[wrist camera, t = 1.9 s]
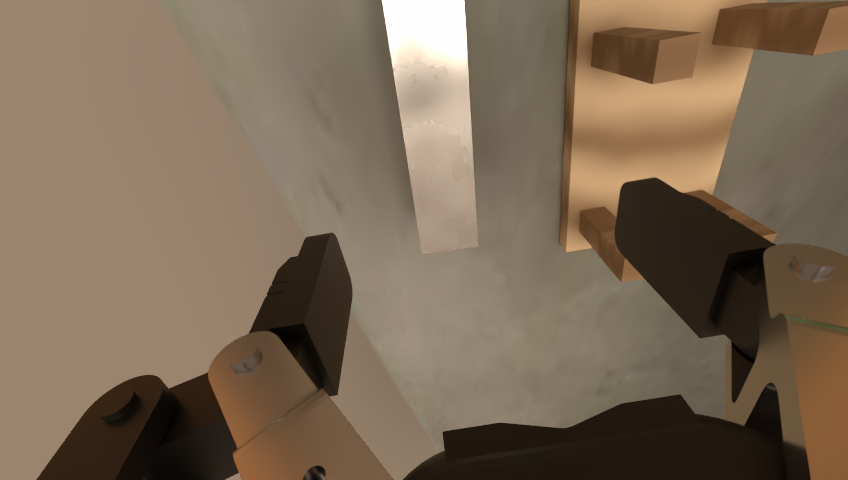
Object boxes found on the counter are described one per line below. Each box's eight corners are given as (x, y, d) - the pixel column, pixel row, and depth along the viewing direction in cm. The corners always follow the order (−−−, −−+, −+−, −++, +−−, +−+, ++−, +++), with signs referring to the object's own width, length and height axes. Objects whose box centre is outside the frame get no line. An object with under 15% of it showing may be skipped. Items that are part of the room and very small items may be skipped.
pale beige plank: (376, -54, 22) (370, -75, 17) (443, -64, 22) (459, -88, 16) (417, 211, 32) (422, 254, 26) (463, 205, 32) (478, 246, 26)
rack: (570, -1, 24) (645, -6, 17) (758, -37, 24) (918, -57, 16) (559, 243, 34) (603, 305, 27) (691, 220, 34) (771, 278, 26)
